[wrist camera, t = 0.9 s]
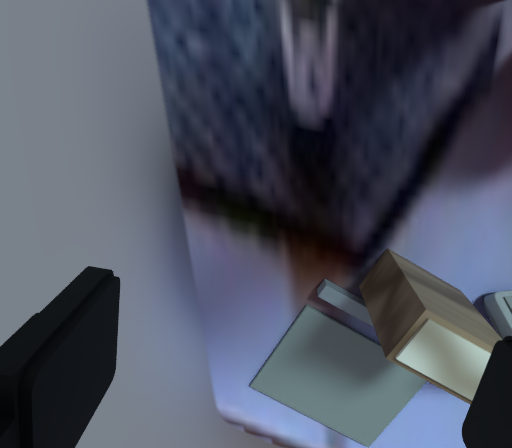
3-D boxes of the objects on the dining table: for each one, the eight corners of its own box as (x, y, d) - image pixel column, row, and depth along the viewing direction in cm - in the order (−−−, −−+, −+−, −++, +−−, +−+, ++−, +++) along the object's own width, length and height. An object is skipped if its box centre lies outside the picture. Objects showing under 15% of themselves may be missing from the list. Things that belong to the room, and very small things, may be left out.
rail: (324, 278, 44) (326, 285, 43) (451, 349, 46) (456, 358, 44) (316, 289, 44) (318, 296, 43) (442, 359, 46) (447, 368, 45)
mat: (306, 304, 45) (306, 306, 45) (431, 372, 47) (432, 374, 46) (250, 384, 49) (249, 386, 48) (367, 444, 50) (368, 447, 50)
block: (387, 248, 43) (427, 311, 31) (460, 290, 44) (526, 367, 32) (358, 286, 44) (386, 360, 32) (430, 327, 45) (482, 412, 34)
